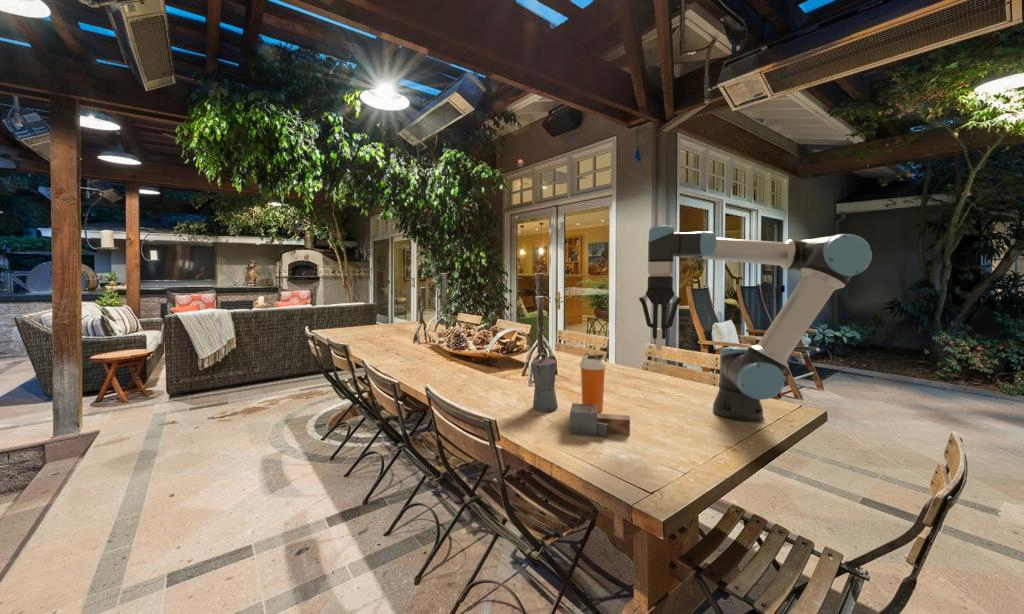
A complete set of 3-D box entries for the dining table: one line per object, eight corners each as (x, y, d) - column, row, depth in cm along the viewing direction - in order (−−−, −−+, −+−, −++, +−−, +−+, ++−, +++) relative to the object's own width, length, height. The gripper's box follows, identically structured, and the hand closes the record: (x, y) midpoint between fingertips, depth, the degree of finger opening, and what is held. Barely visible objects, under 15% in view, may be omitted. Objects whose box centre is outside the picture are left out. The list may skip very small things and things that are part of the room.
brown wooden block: (628, 431, 127) (629, 415, 126) (629, 436, 123) (629, 420, 122) (583, 427, 130) (583, 412, 129) (582, 432, 126) (582, 416, 125)
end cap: (607, 426, 130) (607, 404, 129) (607, 438, 121) (607, 415, 120) (572, 423, 133) (572, 402, 132) (569, 434, 123) (570, 412, 123)
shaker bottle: (605, 414, 140) (606, 357, 139) (579, 413, 142) (579, 357, 140) (604, 406, 149) (605, 352, 147) (580, 405, 151) (580, 352, 149)
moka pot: (525, 412, 143) (525, 357, 141) (539, 400, 157) (539, 349, 156) (551, 416, 139) (551, 358, 138) (563, 402, 154) (563, 350, 152)
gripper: (680, 275, 131) (678, 347, 133) (637, 275, 134) (636, 346, 136) (684, 275, 124) (682, 351, 126) (639, 275, 127) (638, 350, 129)
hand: (658, 348), depth 131 cm, fingers closed
